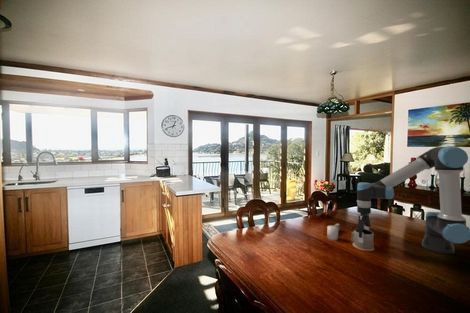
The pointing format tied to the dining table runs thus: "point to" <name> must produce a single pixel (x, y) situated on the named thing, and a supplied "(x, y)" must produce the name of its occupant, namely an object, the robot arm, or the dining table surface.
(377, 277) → the dining table surface
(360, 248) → the mat
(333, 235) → the white cylinder
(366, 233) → the planter
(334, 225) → the cradle
